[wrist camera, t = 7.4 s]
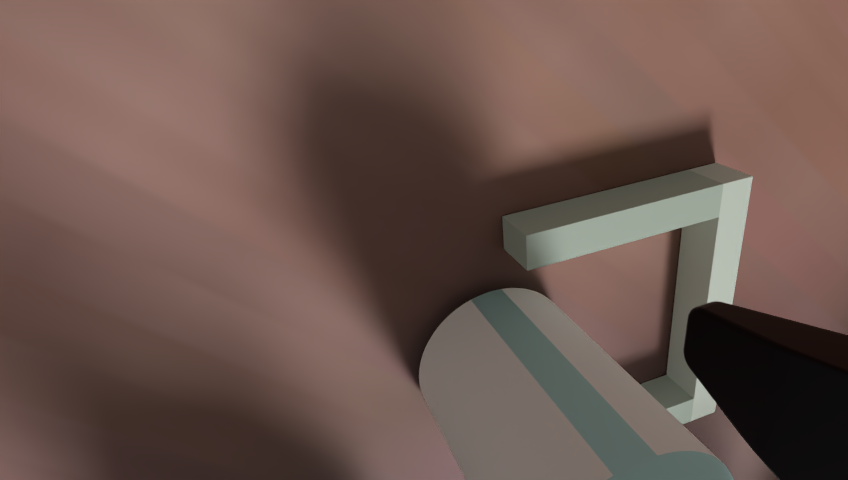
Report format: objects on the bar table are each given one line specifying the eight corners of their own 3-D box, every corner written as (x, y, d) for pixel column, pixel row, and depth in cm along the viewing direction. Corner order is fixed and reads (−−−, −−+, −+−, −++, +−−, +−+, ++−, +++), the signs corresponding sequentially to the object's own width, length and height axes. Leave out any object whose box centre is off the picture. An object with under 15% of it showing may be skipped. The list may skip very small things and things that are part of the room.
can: (560, 385, 28) (765, 623, 18) (425, 434, 26) (565, 728, 16) (556, 260, 25) (803, 463, 15) (402, 308, 23) (558, 575, 13)
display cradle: (687, 388, 31) (714, 412, 30) (513, 451, 29) (533, 481, 27) (716, 162, 26) (752, 176, 24) (502, 216, 23) (526, 235, 21)
